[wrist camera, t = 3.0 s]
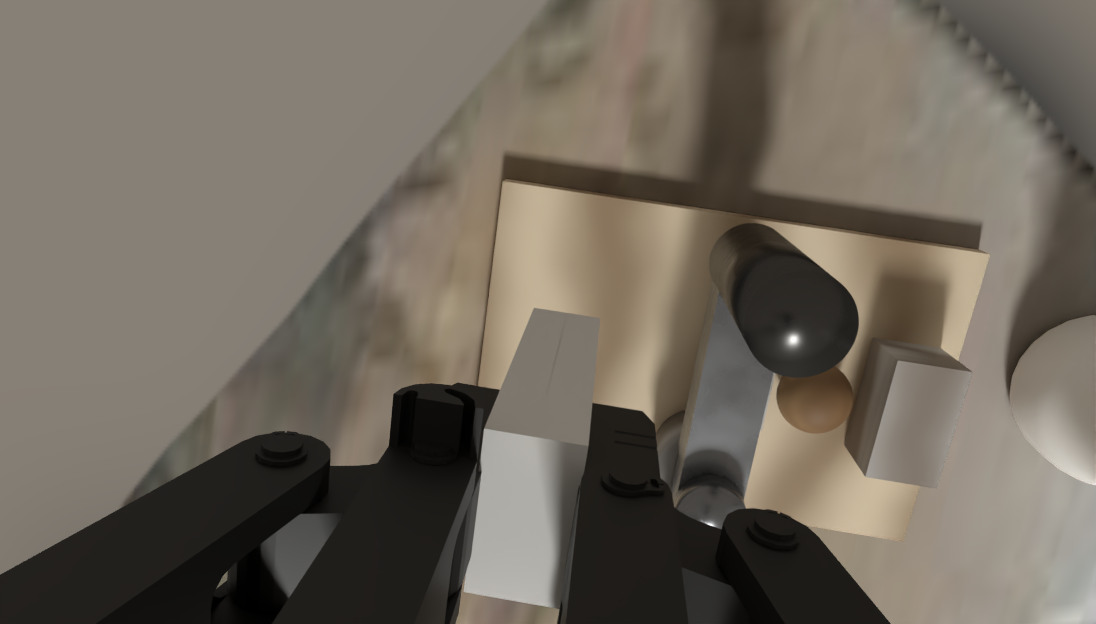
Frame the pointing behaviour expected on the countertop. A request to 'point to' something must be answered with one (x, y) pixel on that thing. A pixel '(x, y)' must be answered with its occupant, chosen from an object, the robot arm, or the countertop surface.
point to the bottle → (1060, 397)
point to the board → (782, 450)
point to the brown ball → (815, 401)
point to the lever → (752, 359)
